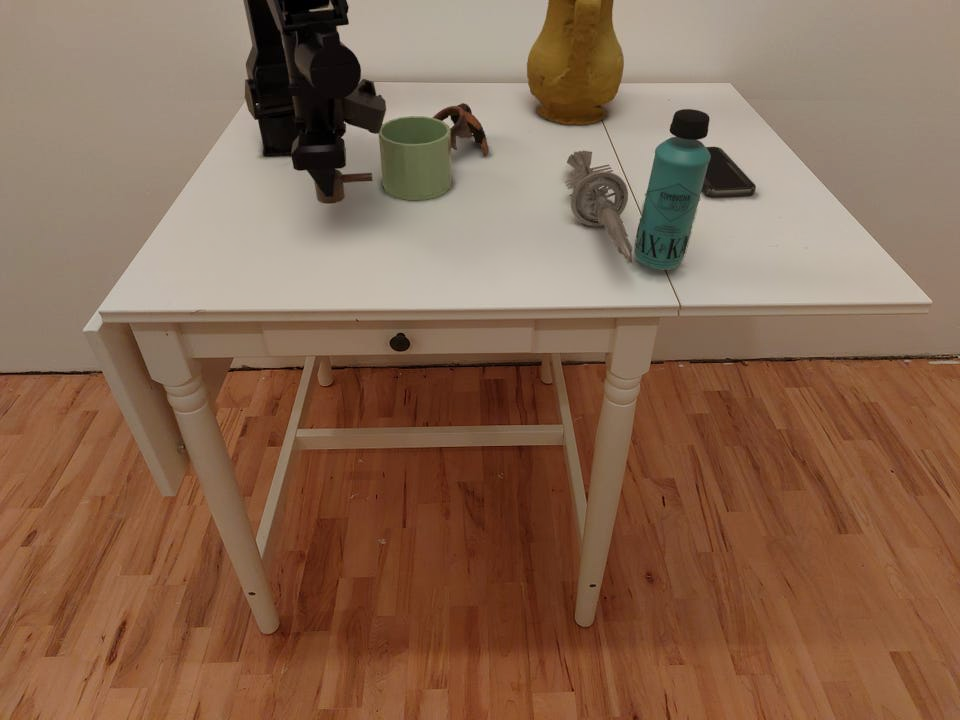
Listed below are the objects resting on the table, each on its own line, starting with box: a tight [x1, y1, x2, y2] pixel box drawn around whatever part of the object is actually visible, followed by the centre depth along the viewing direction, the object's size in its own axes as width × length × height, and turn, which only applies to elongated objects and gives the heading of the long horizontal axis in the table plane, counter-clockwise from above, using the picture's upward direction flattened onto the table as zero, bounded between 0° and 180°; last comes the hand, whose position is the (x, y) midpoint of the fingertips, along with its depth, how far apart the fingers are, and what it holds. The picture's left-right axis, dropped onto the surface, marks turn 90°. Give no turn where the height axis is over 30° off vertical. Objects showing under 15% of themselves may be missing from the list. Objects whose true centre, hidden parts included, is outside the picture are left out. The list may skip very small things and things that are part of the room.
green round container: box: [378, 115, 452, 201], centre depth 100 cm, size 10×10×8 cm
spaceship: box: [564, 150, 633, 264], centre depth 91 cm, size 8×35×8 cm
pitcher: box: [526, 0, 625, 126], centre depth 116 cm, size 17×19×25 cm
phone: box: [701, 146, 757, 198], centre depth 106 cm, size 8×1×15 cm
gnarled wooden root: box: [432, 102, 489, 157], centre depth 110 cm, size 12×10×8 cm
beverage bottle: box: [633, 108, 711, 270], centre depth 80 cm, size 6×7×20 cm
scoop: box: [313, 169, 373, 205], centre depth 91 cm, size 8×4×3 cm, turn 98°
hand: (329, 189), depth 91 cm, fingers closed on scoop, 4 cm apart
